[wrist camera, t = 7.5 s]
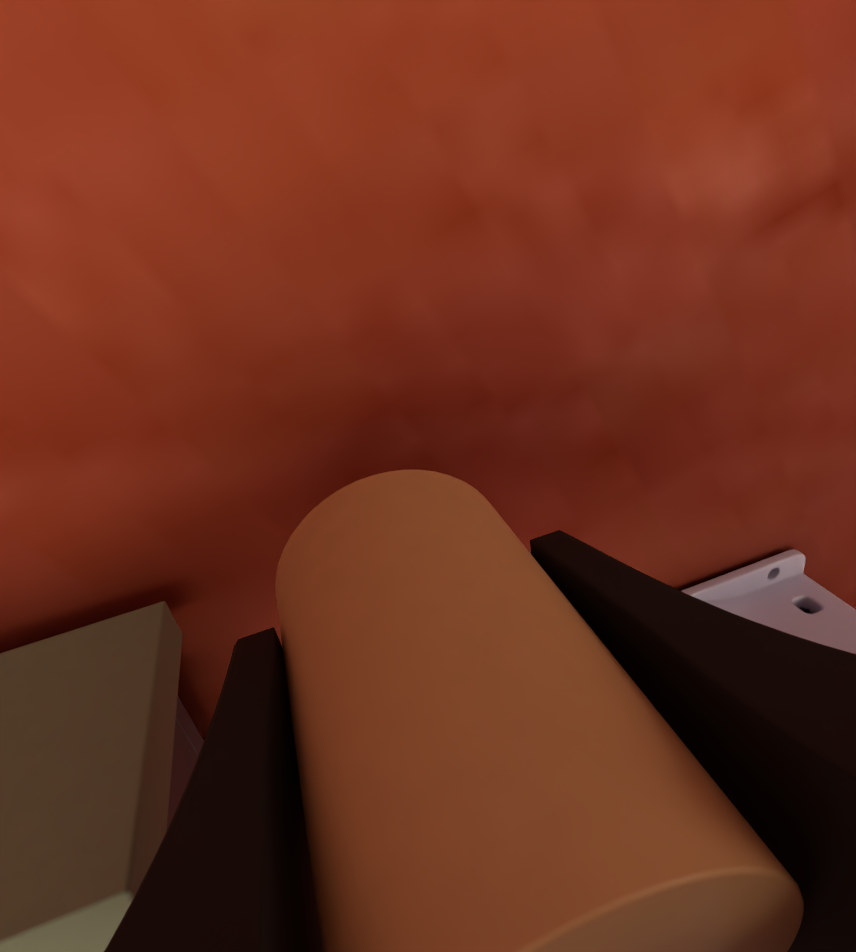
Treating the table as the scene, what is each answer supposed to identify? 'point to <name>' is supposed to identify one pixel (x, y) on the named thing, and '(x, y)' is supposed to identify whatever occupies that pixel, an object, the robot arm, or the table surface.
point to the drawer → (88, 776)
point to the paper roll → (492, 751)
